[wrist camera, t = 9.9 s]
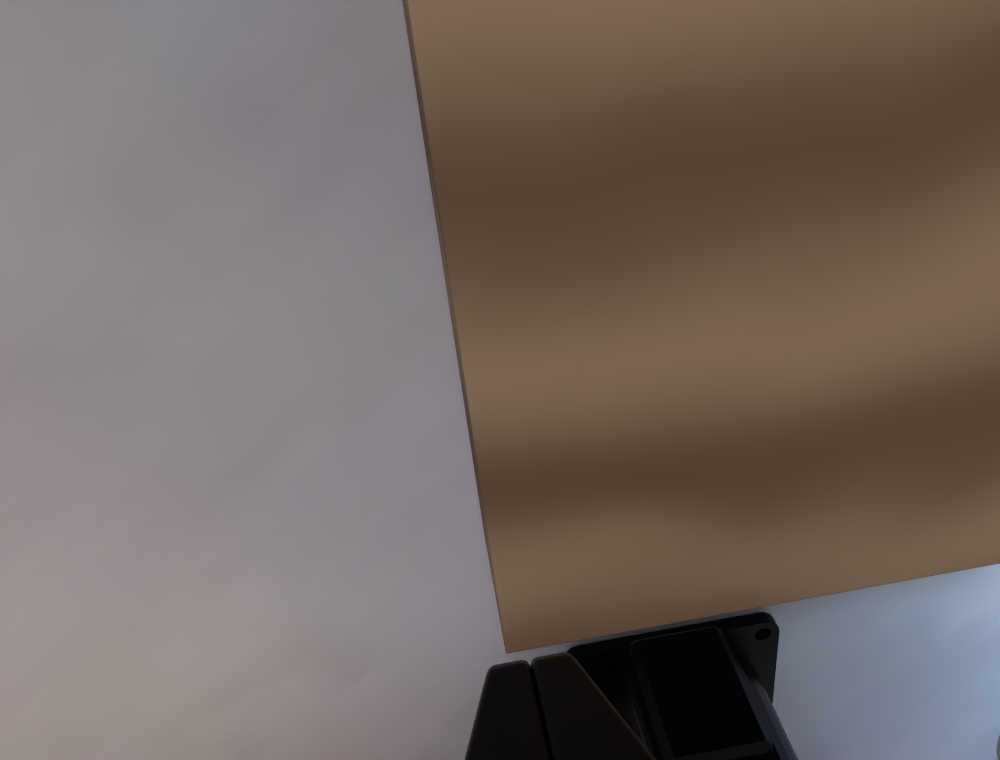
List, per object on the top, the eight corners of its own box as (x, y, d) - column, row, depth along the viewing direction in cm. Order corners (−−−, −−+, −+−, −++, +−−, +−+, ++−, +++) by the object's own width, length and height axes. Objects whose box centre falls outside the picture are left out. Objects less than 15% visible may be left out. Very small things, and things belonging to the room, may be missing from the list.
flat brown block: (984, 448, 25) (1082, 548, 21) (484, 536, 24) (506, 653, 21) (1276, -769, 13) (1602, -972, 9) (298, -679, 12) (276, -866, 9)
